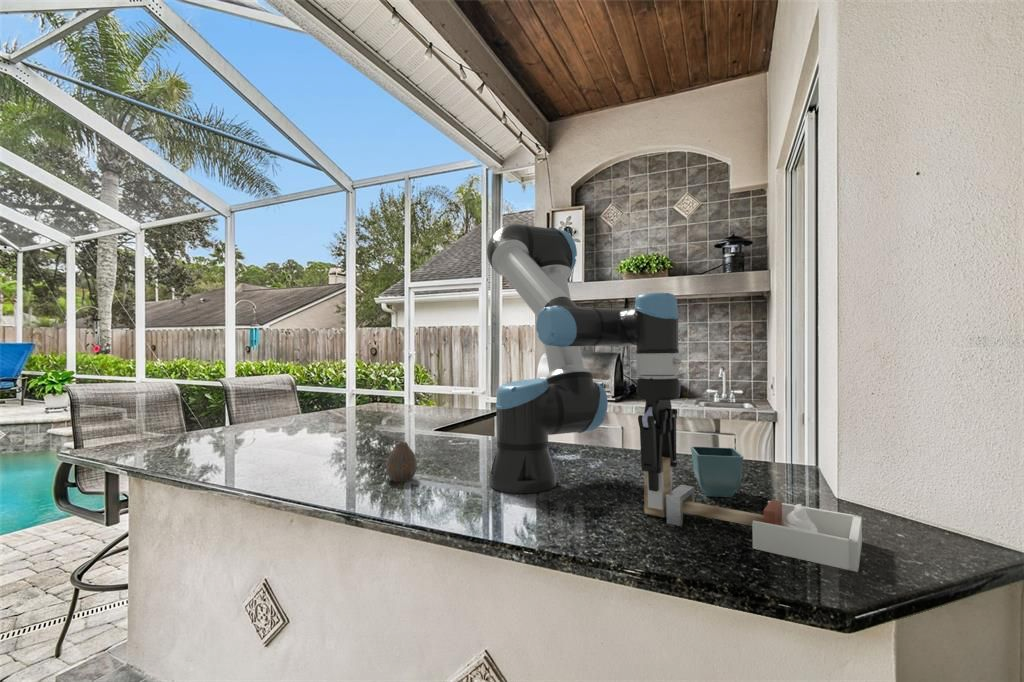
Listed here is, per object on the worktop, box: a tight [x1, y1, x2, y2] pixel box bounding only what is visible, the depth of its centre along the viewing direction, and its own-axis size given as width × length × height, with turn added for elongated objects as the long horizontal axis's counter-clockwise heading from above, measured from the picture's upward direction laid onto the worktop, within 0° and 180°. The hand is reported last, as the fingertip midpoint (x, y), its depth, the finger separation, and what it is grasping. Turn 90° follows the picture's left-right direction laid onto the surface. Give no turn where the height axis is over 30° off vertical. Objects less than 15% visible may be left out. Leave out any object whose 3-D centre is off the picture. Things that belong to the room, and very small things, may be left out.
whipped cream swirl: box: [781, 503, 818, 533], centre depth 75 cm, size 6×6×5 cm
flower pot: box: [690, 446, 744, 498], centre depth 101 cm, size 9×9×9 cm
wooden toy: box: [643, 457, 783, 527], centre depth 83 cm, size 22×6×10 cm, turn 52°
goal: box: [751, 500, 863, 573], centre depth 74 cm, size 13×13×4 cm
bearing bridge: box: [666, 484, 695, 527], centre depth 86 cm, size 2×8×5 cm, turn 142°
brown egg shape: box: [386, 441, 418, 483], centre depth 114 cm, size 7×7×9 cm
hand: (660, 504), depth 89 cm, fingers closed on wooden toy, 4 cm apart
